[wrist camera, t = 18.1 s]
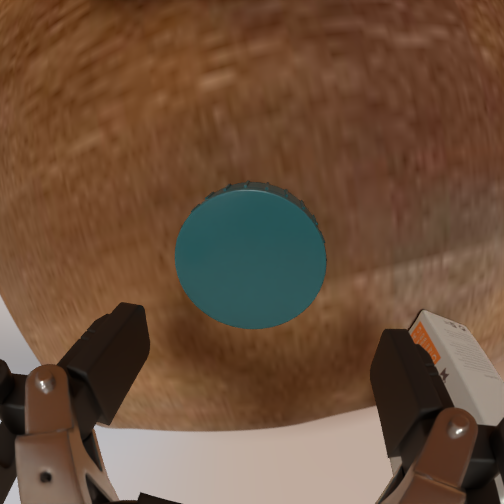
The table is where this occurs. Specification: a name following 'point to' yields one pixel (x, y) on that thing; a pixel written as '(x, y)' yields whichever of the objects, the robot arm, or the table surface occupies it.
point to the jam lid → (251, 256)
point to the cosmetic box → (461, 372)
